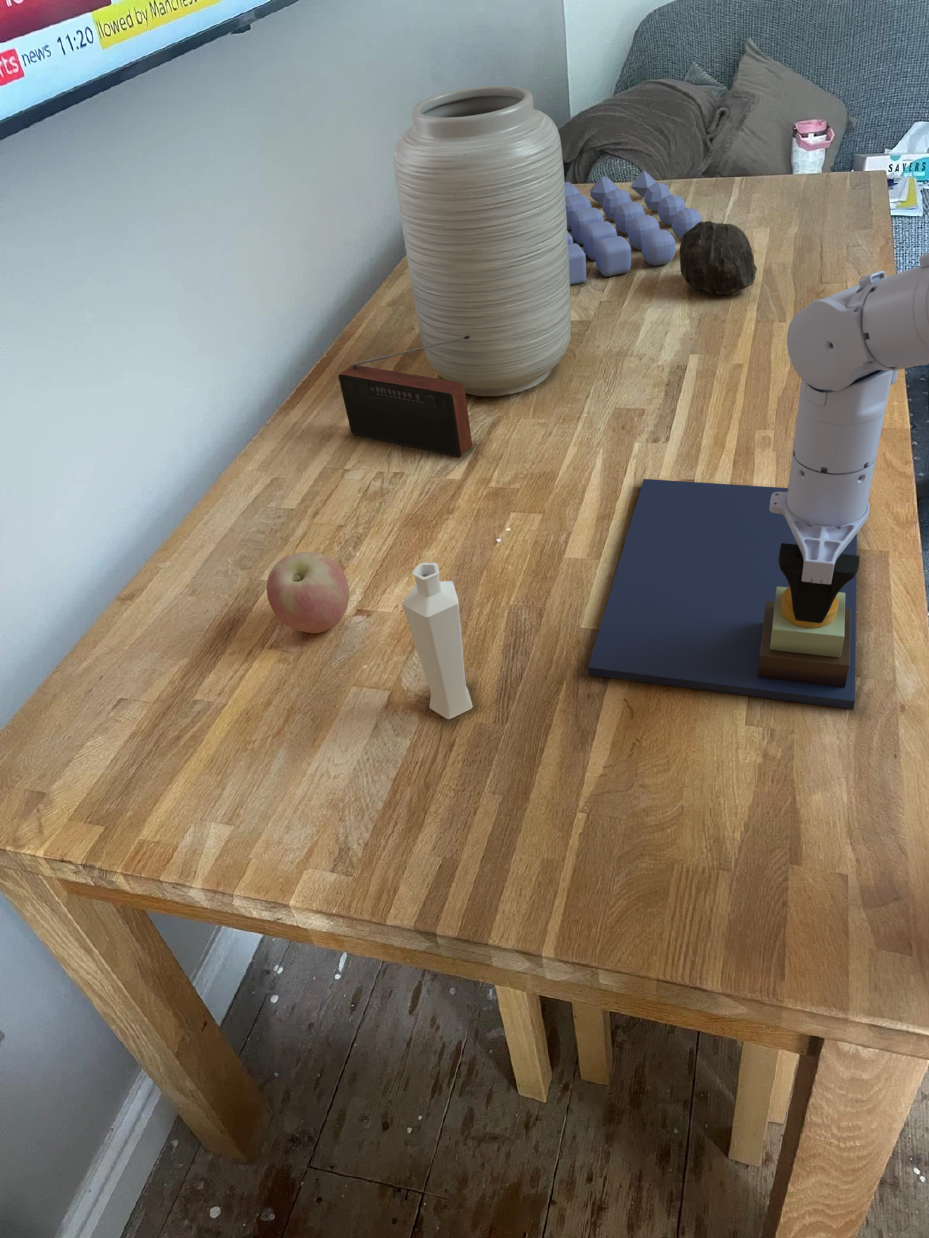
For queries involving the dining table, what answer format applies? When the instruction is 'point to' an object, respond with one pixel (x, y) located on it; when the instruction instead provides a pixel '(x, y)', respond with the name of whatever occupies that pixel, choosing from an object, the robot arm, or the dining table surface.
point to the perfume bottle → (438, 639)
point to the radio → (406, 408)
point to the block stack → (805, 647)
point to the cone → (789, 615)
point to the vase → (486, 237)
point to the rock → (717, 258)
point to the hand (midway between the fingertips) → (811, 596)
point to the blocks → (623, 226)
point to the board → (704, 594)
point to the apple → (308, 592)
